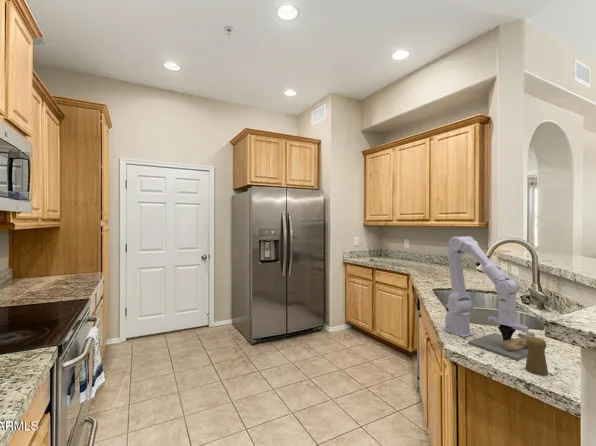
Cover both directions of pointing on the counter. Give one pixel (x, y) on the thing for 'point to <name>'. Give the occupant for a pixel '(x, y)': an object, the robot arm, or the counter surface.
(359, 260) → the counter surface
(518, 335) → the keeper
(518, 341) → the link
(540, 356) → the cork
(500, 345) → the base plate
